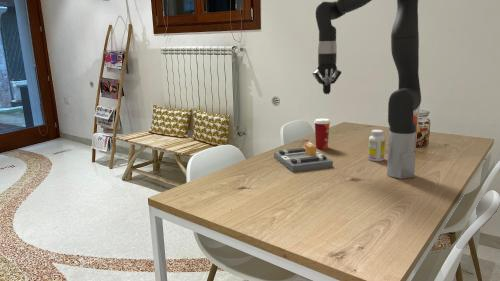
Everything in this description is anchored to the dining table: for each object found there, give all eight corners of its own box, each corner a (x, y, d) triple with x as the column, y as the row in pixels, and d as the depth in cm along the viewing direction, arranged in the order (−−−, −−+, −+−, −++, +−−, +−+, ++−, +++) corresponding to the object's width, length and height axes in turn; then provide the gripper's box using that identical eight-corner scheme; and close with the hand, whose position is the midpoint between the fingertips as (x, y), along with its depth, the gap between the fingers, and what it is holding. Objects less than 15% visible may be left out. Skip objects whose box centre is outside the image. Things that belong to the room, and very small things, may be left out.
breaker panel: (332, 166, 161) (332, 159, 160) (292, 171, 156) (292, 164, 155) (310, 152, 181) (310, 146, 181) (274, 157, 177) (273, 150, 176)
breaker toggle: (316, 156, 167) (316, 144, 166) (309, 156, 167) (309, 145, 165) (311, 153, 172) (311, 141, 171) (305, 153, 171) (305, 142, 170)
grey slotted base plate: (326, 165, 163) (326, 156, 162) (293, 169, 159) (293, 160, 158) (309, 154, 179) (309, 146, 178) (279, 158, 175) (279, 150, 174)
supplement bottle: (382, 157, 172) (383, 128, 168) (385, 161, 165) (387, 132, 162) (366, 157, 172) (367, 129, 169) (369, 161, 166) (371, 132, 163)
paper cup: (331, 149, 186) (331, 121, 182) (315, 150, 186) (315, 121, 182) (328, 145, 193) (328, 117, 190) (312, 145, 193) (313, 118, 190)
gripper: (316, 53, 156) (316, 96, 160) (346, 51, 160) (345, 93, 164) (308, 52, 163) (308, 93, 167) (337, 51, 167) (336, 91, 171)
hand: (326, 93), depth 166 cm, fingers closed
